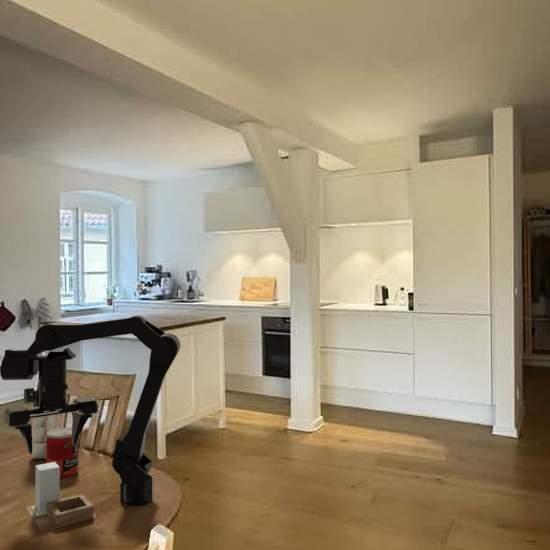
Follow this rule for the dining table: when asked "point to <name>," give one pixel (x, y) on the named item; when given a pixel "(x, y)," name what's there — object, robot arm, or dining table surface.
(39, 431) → the plastic bottle
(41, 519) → the brown slotted holder
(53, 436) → the canned food
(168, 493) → the dining table surface
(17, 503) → the dining table surface
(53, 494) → the block
